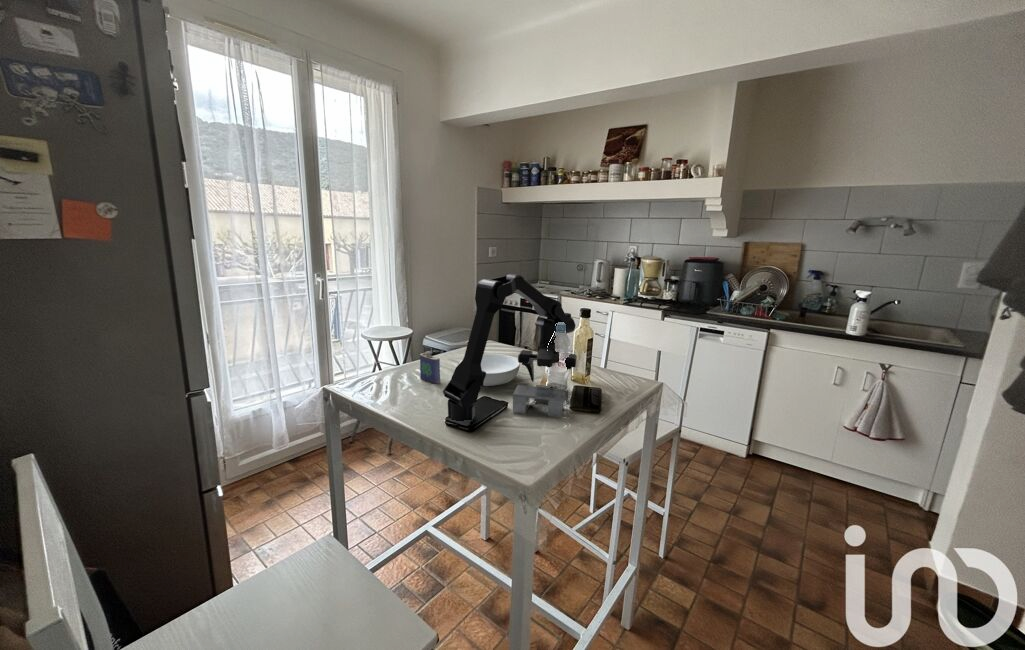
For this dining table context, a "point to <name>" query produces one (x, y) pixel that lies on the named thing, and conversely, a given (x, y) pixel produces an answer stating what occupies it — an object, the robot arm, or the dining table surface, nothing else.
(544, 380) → the plug
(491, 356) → the serving bowl
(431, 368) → the flask
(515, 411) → the grey arch block
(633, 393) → the dining table surface
